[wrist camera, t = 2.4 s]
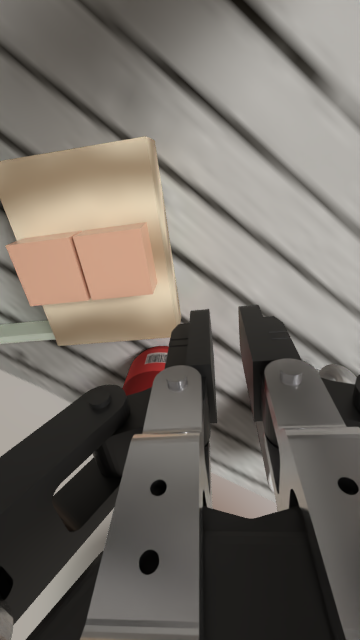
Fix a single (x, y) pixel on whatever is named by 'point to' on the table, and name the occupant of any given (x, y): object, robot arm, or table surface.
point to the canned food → (145, 369)
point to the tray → (26, 332)
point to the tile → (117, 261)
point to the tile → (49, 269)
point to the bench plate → (91, 213)
